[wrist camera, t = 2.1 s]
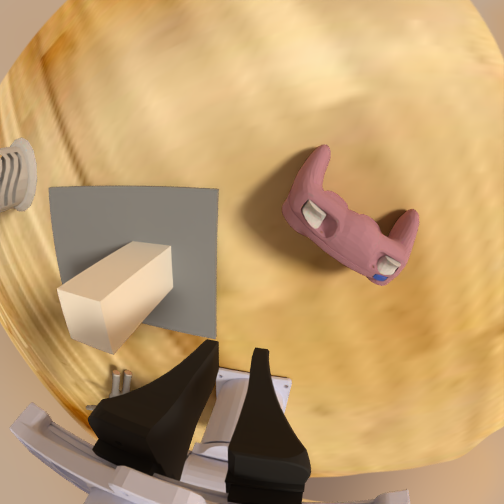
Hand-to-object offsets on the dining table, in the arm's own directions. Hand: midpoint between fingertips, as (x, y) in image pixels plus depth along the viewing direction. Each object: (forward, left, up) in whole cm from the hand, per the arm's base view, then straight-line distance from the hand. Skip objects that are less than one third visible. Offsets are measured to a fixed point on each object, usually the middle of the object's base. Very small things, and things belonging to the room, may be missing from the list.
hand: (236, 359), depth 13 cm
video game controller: (+6, -6, -11) cm, 14 cm away
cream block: (0, +10, -10) cm, 14 cm away
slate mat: (0, +14, -10) cm, 17 cm away
